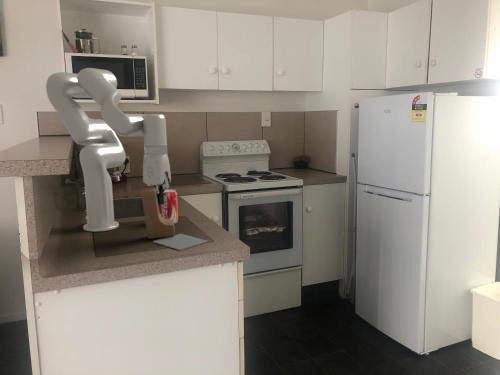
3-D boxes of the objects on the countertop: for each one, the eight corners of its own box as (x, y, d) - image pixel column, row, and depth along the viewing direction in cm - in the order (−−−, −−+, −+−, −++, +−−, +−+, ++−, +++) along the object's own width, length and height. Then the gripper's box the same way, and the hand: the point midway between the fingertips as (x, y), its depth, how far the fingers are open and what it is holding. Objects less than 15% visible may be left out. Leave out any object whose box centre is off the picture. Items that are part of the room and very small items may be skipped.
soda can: (169, 219, 168) (167, 188, 166) (182, 222, 164) (180, 189, 162) (155, 223, 162) (154, 190, 160) (168, 226, 158) (167, 192, 156)
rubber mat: (152, 242, 137) (152, 241, 137) (180, 234, 146) (180, 233, 146) (179, 250, 128) (179, 249, 128) (208, 242, 137) (208, 241, 137)
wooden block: (174, 229, 146) (169, 183, 138) (174, 236, 142) (169, 189, 134) (148, 232, 145) (141, 186, 137) (148, 239, 141) (140, 192, 133)
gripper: (133, 151, 142) (137, 203, 144) (160, 152, 132) (163, 208, 135) (151, 149, 147) (154, 200, 150) (178, 151, 137) (181, 205, 140)
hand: (159, 204), depth 142 cm, fingers closed
